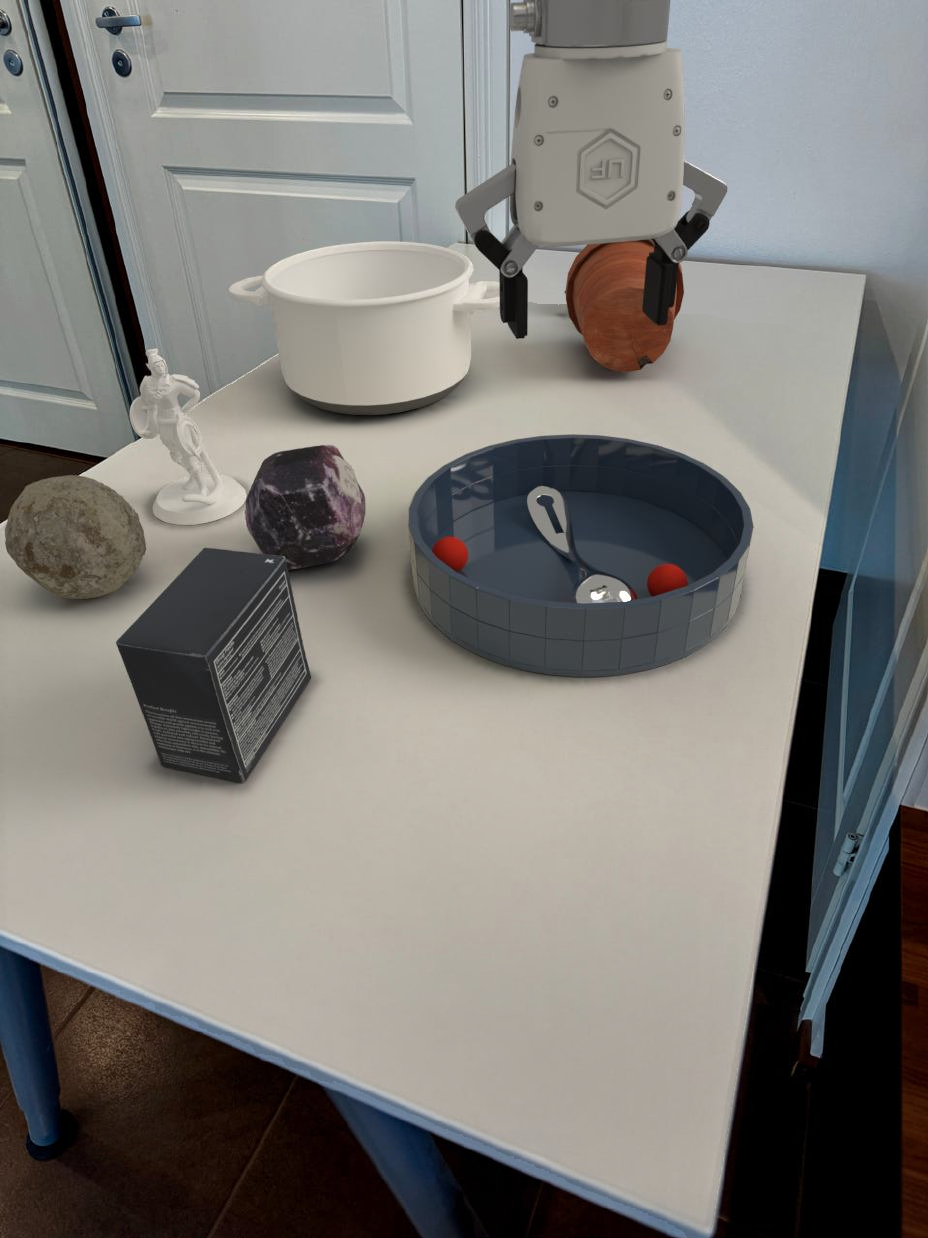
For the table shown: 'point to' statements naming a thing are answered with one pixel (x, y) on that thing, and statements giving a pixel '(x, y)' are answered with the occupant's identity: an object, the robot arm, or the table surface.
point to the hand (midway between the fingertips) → (586, 325)
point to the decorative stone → (75, 536)
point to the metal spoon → (576, 553)
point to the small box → (218, 662)
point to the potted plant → (617, 305)
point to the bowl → (604, 538)
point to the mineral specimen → (305, 506)
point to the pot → (371, 323)
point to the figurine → (182, 449)
